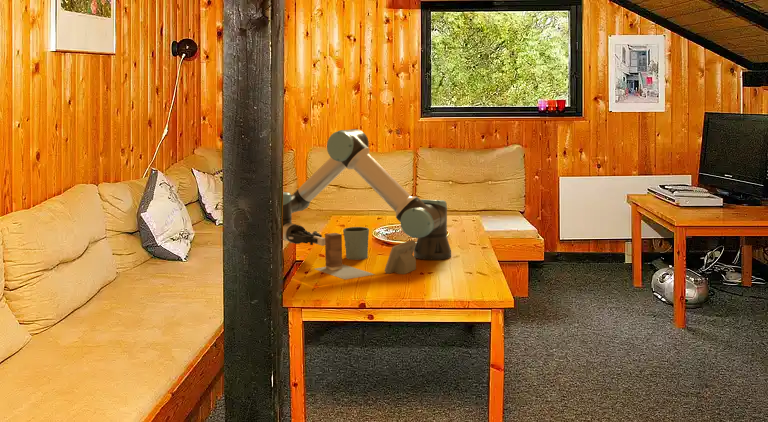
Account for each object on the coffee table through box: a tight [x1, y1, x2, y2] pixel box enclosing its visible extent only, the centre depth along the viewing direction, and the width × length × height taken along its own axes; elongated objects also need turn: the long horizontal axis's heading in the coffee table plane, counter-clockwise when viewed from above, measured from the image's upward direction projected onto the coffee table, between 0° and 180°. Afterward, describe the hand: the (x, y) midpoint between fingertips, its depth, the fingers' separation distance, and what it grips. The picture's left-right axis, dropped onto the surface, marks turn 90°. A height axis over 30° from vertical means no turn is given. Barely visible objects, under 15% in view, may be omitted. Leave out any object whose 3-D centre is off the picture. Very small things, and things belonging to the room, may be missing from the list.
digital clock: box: [384, 239, 417, 275], centre depth 300 cm, size 16×9×11 cm, turn 139°
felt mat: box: [314, 263, 376, 280], centre depth 299 cm, size 22×13×1 cm, turn 35°
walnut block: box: [324, 232, 343, 270], centre depth 304 cm, size 4×4×13 cm
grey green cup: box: [342, 226, 370, 261], centre depth 323 cm, size 10×10×12 cm
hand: (323, 242), depth 309 cm, fingers closed
